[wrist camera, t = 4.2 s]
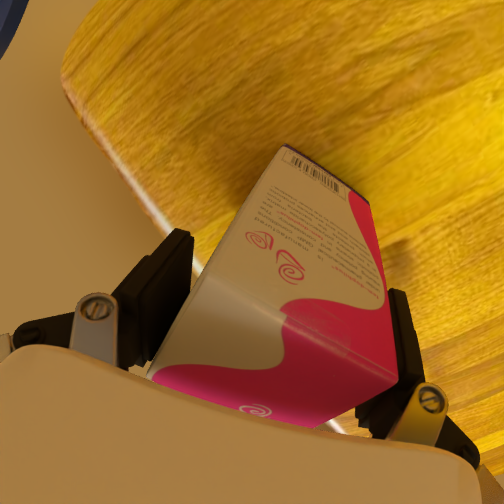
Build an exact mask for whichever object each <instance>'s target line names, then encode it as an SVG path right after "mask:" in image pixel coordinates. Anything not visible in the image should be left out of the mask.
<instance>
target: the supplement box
mask: <svg viewBox="0 0 504 504" xmlns="http://www.w3.org/2000/svg"><path fill="white" fill-rule="evenodd" d="M146 377H147V378H149V379H151V380H152V381H154V382H156V383H158V384H160V385H163V386H165V387H168V388H171V389H174V390H176V391H179V392H182V393H185V394H188V395H191V396H194V397H196V398H200V399H203V400H206V401H209V402H212V403H215V404H218V405H222V406H225V407H228V408H232V409H235V410H238V411H242V412H246V413H249V414H253V415H257V416H260V417H264V418H268V419H272V420H276V421H281V422H285V423H289V424H294V425H298V426H303V427H308V428H314V427H316V426H318V425H320V424H322V423H324V422H326V421H328V420H330V419H332V418H335V417H337V416H339V415H341V414H342V413H344V412H346V411H348V410H350V409H352V408H354V407H356V406H358V405H360V404H362V403H364V402H365V401H367V400H369V399H371V398H373V397H374V396H376V395H378V394H380V393H382V392H383V391H385V390H387V389H389V388H390V387H392V386H394V385H395V384H396V383H397V382H398V380H399V379H398V368H397V358H396V349H395V341H394V334H393V327H392V319H391V312H390V306H389V299H388V293H387V287H386V281H385V275H384V270H383V265H382V259H381V254H380V249H379V245H378V240H377V235H376V231H375V227H374V222H373V218H372V213H371V209H370V204H369V202H368V201H367V200H366V199H365V198H364V197H363V196H361V195H360V194H359V193H357V192H356V191H355V190H353V189H352V188H351V187H349V186H348V185H347V184H345V183H344V182H343V181H341V180H340V179H338V178H337V177H336V176H334V175H333V174H331V173H330V172H328V171H327V170H326V169H324V168H323V167H321V166H320V165H318V164H317V163H315V162H314V161H312V160H311V159H309V158H308V157H306V156H305V155H303V154H302V153H300V152H298V151H297V150H295V149H294V148H292V147H290V146H289V145H287V144H285V143H284V144H283V145H282V146H281V148H280V149H279V150H278V152H277V153H276V155H275V156H274V158H273V159H272V161H271V162H270V164H269V165H268V166H267V168H266V169H265V171H264V172H263V174H262V175H261V177H260V178H259V180H258V181H257V183H256V184H255V186H254V188H253V189H252V191H251V192H250V194H249V195H248V197H247V198H246V200H245V202H244V203H243V205H242V206H241V208H240V210H239V211H238V213H237V214H236V216H235V218H234V219H233V221H232V222H231V224H230V226H229V227H228V229H227V231H226V232H225V234H224V236H223V237H222V239H221V240H220V242H219V244H218V245H217V247H216V249H215V250H214V252H213V254H212V256H211V257H210V259H209V261H208V262H207V264H206V266H205V267H204V269H203V271H202V273H201V274H200V276H199V278H198V280H197V281H196V283H195V285H194V286H193V289H192V290H191V292H190V293H189V295H188V297H187V299H186V301H185V302H184V304H183V306H182V308H181V309H180V311H179V313H178V315H177V317H176V318H175V320H174V322H173V324H172V326H171V327H170V329H169V331H168V333H167V335H166V337H165V339H164V341H163V343H162V345H161V346H160V348H159V350H158V352H157V354H156V356H155V357H154V359H153V361H152V363H151V365H150V367H149V369H148V371H147V374H146Z"/></svg>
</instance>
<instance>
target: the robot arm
mask: <svg viewBox="0 0 504 504" xmlns="http://www.w3.org/2000/svg"><path fill="white" fill-rule="evenodd" d="M193 249H194V237H192V236H190V232H189V231H185V230H181V229H178V228H175V229H174V230H173V231H172V232H171V233H170V234H169V235H168V236H167V237H166V239H165V240H164V241H163V242H162V243H161V244H160V245H159V247H158V248H157V249H156V250H155V251H154V252H153V253H152V254H151V255H150V256H149V255H146V256H144V257H143V258H142V259H141V260H140V261H139V263H138V264H137V265H136V266H135V267H134V268H133V269H132V271H131V272H130V273H129V274H128V275H127V276H126V277H125V279H124V280H123V281H122V282H121V283H120V284H119V286H118V287H117V288H116V289H115V290H114V291H113V293H112V294H111V295H109V294H106V293H100V292H97V293H91V294H88V295H86V296H84V297H83V298H81V300H80V301H79V302H78V303H77V306H76V310H75V312H71V313H66V314H62V315H57V316H52V317H47V318H43V319H38V320H33V321H29V322H26V323H23V324H22V325H20V326H19V327H18V328H17V329H16V330H15V332H14V334H13V335H12V336H10V335H9V333H6V334H3V335H0V504H504V490H503V488H502V487H501V486H500V485H499V483H498V482H497V481H496V479H495V478H494V477H493V475H492V474H491V473H490V472H489V470H488V469H487V468H486V467H485V465H484V464H482V465H481V466H480V465H479V463H480V454H479V451H478V448H477V447H476V445H475V444H474V443H473V442H472V441H471V440H470V439H469V438H468V437H467V436H466V435H465V434H464V433H463V432H462V430H461V429H460V428H459V427H458V426H457V425H456V424H455V423H454V422H453V421H452V420H451V419H450V418H449V417H448V416H447V415H446V414H447V411H448V405H449V404H448V398H447V396H446V394H445V393H444V391H443V390H442V389H441V388H440V387H439V386H437V385H435V384H433V383H429V382H425V376H424V370H423V364H422V359H421V353H420V348H419V343H418V338H417V334H416V331H415V330H414V326H413V322H412V317H411V313H410V309H409V305H408V301H407V297H406V293H405V292H404V291H401V290H398V289H394V288H390V289H389V291H387V293H388V299H389V306H390V312H391V319H392V327H393V334H394V341H395V349H396V358H397V368H398V379H399V380H398V382H397V383H396V384H395V385H394V386H392V387H390V388H389V389H387V390H385V391H383V392H382V393H380V394H378V395H376V396H374V397H373V398H371V399H369V400H367V401H365V402H364V403H362V404H360V405H358V406H356V407H355V417H356V418H358V419H359V424H358V427H362V428H369V431H370V432H371V434H370V436H369V438H367V437H359V436H353V435H346V434H340V433H334V432H329V431H323V430H318V429H313V428H308V427H303V426H298V425H294V424H289V423H285V422H281V421H276V420H272V419H268V418H264V417H260V416H257V415H253V414H249V413H246V412H242V411H238V410H235V409H232V408H228V407H225V406H222V405H218V404H215V403H212V402H209V401H206V400H203V399H200V398H196V397H194V396H191V395H188V394H185V393H182V392H179V391H176V390H174V389H171V388H168V387H165V386H163V385H160V384H157V383H155V382H152V381H150V380H147V379H145V378H142V377H140V376H137V375H135V374H132V373H130V372H128V371H129V370H128V367H132V366H134V364H136V365H138V366H140V367H144V365H145V363H146V362H147V360H148V361H152V360H153V358H154V357H155V355H156V353H157V351H158V350H159V348H160V346H161V344H162V343H163V341H164V339H165V337H166V335H167V333H168V331H169V329H170V327H171V326H172V324H173V322H174V320H175V318H176V317H177V315H178V313H179V311H180V309H181V308H182V306H183V304H184V302H185V301H186V299H187V297H188V295H189V293H190V285H191V273H192V261H193Z"/></svg>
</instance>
